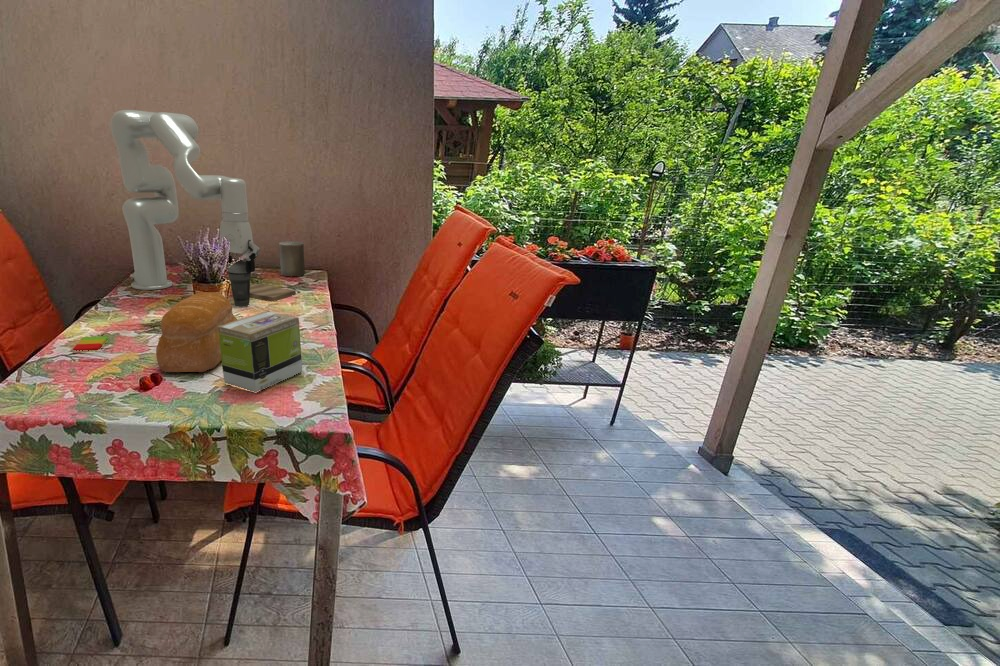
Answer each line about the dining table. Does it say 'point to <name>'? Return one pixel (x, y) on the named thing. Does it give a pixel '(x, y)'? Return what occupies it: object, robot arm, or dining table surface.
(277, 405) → the dining table surface
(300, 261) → the pillar candle
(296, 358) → the tea box
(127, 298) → the dining table surface
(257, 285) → the walnut board
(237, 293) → the beverage cup
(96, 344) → the popsicle
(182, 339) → the bread
